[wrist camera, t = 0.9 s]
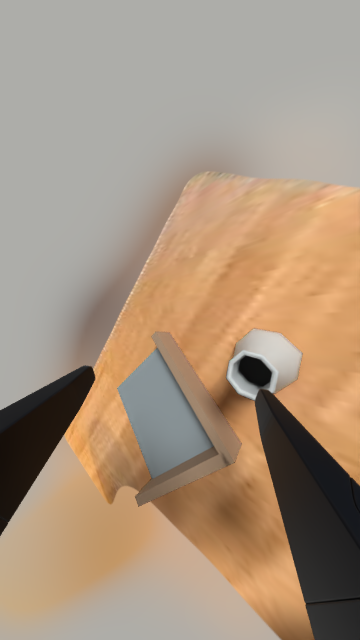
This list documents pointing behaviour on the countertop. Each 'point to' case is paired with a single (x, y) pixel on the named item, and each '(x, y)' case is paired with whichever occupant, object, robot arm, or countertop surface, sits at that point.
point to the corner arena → (175, 421)
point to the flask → (263, 363)
